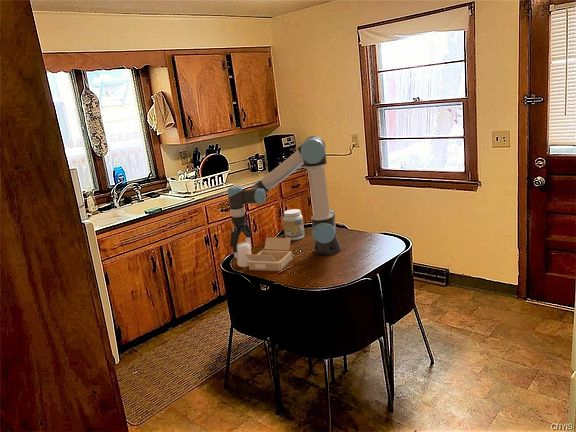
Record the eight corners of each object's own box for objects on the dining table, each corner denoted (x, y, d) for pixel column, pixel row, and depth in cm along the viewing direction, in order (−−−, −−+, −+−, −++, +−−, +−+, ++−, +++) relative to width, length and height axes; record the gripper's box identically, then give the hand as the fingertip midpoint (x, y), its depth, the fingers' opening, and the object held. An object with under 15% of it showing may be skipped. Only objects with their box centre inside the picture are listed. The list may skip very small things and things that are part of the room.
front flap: (271, 255, 233) (271, 255, 232) (276, 261, 238) (276, 262, 238) (245, 254, 239) (245, 254, 239) (250, 260, 244) (250, 260, 244)
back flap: (266, 237, 261) (266, 237, 261) (264, 248, 258) (264, 249, 259) (290, 238, 255) (291, 238, 255) (288, 249, 252) (289, 250, 253)
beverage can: (250, 267, 249) (247, 246, 245) (236, 268, 250) (233, 247, 247) (254, 261, 256) (251, 241, 253) (240, 262, 258) (237, 242, 255)
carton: (293, 259, 253) (292, 251, 252) (280, 271, 238) (279, 263, 237) (262, 257, 261) (261, 250, 260) (248, 269, 246) (247, 261, 245)
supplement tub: (301, 240, 282) (298, 214, 277) (282, 240, 286) (279, 214, 282) (307, 234, 292) (304, 208, 288) (289, 234, 297) (286, 208, 292)
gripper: (243, 208, 258) (247, 244, 264) (219, 222, 236) (225, 261, 242) (255, 209, 255) (259, 245, 261) (232, 222, 233) (238, 261, 239)
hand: (243, 253), depth 252 cm, fingers open, 13 cm apart
